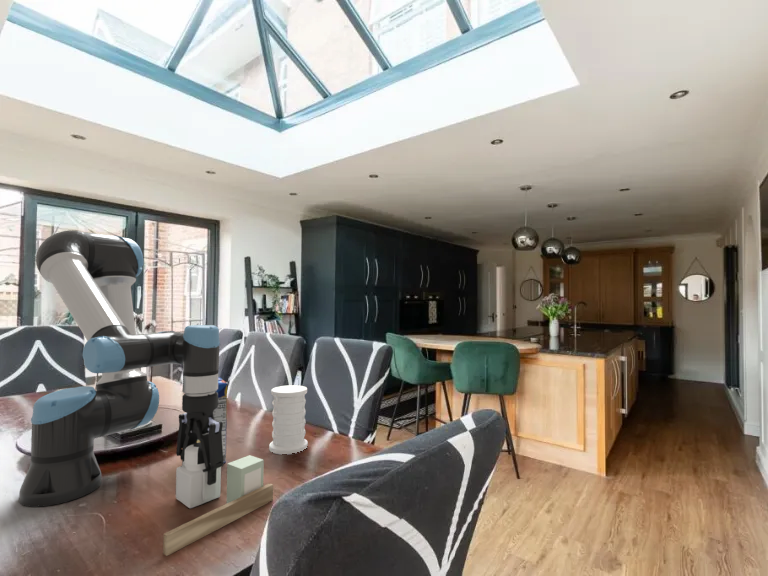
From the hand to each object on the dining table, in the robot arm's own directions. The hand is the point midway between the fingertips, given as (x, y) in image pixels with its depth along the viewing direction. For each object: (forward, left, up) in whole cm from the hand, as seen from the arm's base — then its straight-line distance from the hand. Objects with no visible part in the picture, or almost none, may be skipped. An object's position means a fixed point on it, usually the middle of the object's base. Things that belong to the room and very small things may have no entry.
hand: (198, 492), depth 92 cm
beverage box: (-19, +15, -2) cm, 24 cm away
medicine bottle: (0, 0, -1) cm, 1 cm away
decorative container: (-7, +34, -2) cm, 35 cm away
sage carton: (+10, +5, -1) cm, 11 cm away
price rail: (+14, -3, -1) cm, 15 cm away
